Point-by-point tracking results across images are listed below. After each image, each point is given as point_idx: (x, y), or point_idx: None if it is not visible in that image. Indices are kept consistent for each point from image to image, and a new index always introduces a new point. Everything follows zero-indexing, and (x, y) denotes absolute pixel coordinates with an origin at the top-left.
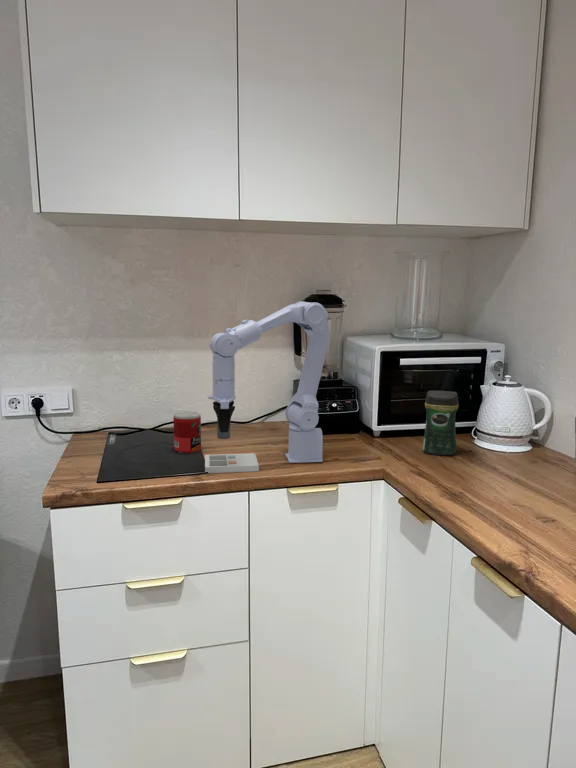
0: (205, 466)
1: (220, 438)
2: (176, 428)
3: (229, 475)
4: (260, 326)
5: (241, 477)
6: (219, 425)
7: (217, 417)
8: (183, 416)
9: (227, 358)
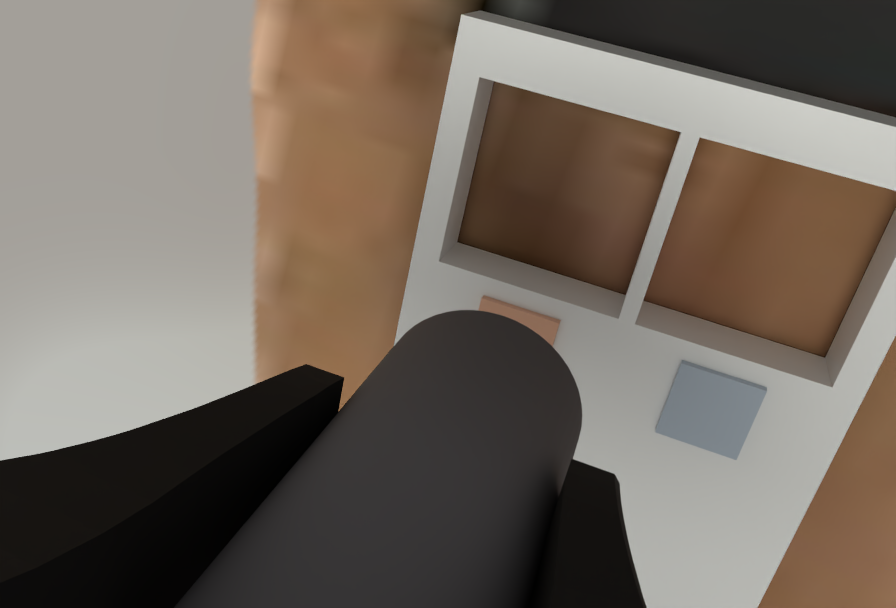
0: (490, 27)
1: (405, 333)
2: None
3: (350, 222)
4: None
5: (276, 296)
6: (216, 409)
7: (33, 457)
8: None
9: None
